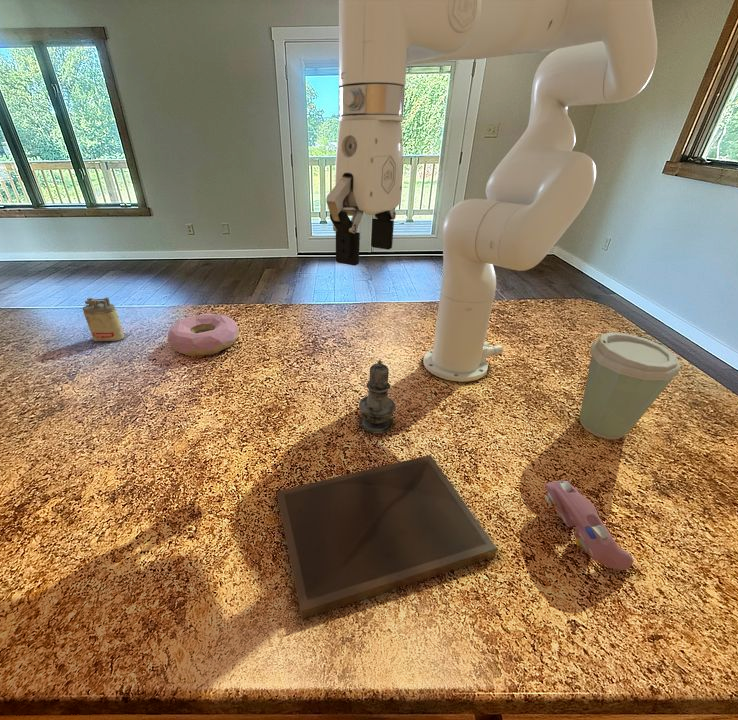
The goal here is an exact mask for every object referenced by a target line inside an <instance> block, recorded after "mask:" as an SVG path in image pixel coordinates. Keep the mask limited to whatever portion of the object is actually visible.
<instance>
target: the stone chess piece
mask: <svg viewBox="0 0 738 720" xmlns="http://www.w3.org/2000/svg"><path fill="white" fill-rule="evenodd" d="M389 370H390V369H389V367H388V366H387V365H386V364H384V363H383V362H382V360H381V359H378V361H377V363H374V364H372V365H371V366H370V367H369V375H368V376H369V378H368V379H369V381H367V383H366V388H367V389H368V391H367V393H368V394H367V395H366V396H363V397H362V398H361V399H360V400H359V402H358V408H359V410H360V413H361V415H362V416H361V418H360V420H359V421H360V424H359V425H360V426H361V428H363V430H365V431H366V432H369V433H371V434H384V433H387V432H389V431H390V430H391V429H392V427H393V419H392V416H393V414H394V412H395V411H396V408H397V406H396V403H395V401H394V400H393V399H392V398H391V397H389V396H388V395H389V390H390V388H391V384H390V383H389V372H390V371H389Z"/></svg>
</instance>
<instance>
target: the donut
mask: <svg viewBox="0 0 738 720" xmlns="http://www.w3.org/2000/svg"><path fill="white" fill-rule="evenodd" d="M238 338H239V327H238V325H237V323H236V321H235V320H234V319H233V318H231V317H229V315H223V314H215V313H208V312H207V313H203V314H202V313H201V314H196V315H192V316H188V317H184V318H182V319H181V320H179V321H178V322H176V323H175V324H173V325H172V327H171V328H170V329H169V330H168V331H167V341H166V342H168V343H169V346H170V347H171V348H172V350H174V351H175V352H177V353H179V354H182V355H186V356H190V357H196V356H197V357H199V356H213V355H215V354H217V353H219V352H221V351H224V350H226V349H227V348H230V347H231V346H232V345H233V344H234V343H235V342H236V341H237V340H238Z"/></svg>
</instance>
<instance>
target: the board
mask: <svg viewBox="0 0 738 720" xmlns="http://www.w3.org/2000/svg"><path fill="white" fill-rule="evenodd" d="M276 497H277V503H278V507H279V511H280V517H281V522H282V527H283V533H284V537H285V538H284V539H285V542H286V548H287V552H288V557H289V561H290V562H289V563H290V566H291V572H292V577H293V582H294V586H295V592H296V598H297V602H298V607H299V611H300V617H301V619H302V620H304V619H308V618H311V617H314V616H317V615H320V614H323V613H326V612H328V611H332V610H335V609H338V608H341V607H344V606H347V605H351V604H354V603H356V602H360V601H363V600H365V599H368V598H372V597H375V596H378V595H382V594H384V593H387V592H391V591H393V590H397V589H400V588H402V587H406V586H409V585H412V584H415V583H418V582H421V581H425V580H428V579H430V578H433V577H436V576H440V575H443V574H446V573H449V572H452V571H456V570H459V569H461V568H464V567H467V566H471V565H473V564H477V563H480V562H483V561H486V560H489V559H492V558H495V557H496V555H497V551H498V547H497V545H495V543H494V542H493V540H492V539H491V537H490V536H489V535H488V532H487V531H486V530H485V529H484V528H483V525H482V524H481V523H480V521H478V519H477V518H476V516H475V515H474V513H473V512H472V511H471V509H470V508H469V506H468V505H467V504H466V502H465V501H464V500H463V498H462V497H461V496H460V494H459V493H458V491H457V490H456V488H455V487H454V486H453V484H452V483H451V481H450V480H449V479H448V477H447V476H446V475H445V473H444V472H443V470H442V469H441V468H440V466H439V465H438V463H437V462H436V461H435V459H434V457H433V456H432V455H431V454H427V455H424V456H419V457H415V458H411V459H407V460H402V461H398V462H394V463H390V464H385V465H381V466H378V467H372V468H368V469H364V470H360V471H356V472H352V473H348V474H344V475H340V476H335V477H331V478H327V479H323V480H322V479H321V480H319V481H314V482H310V483H306V484H302V485H301V484H300V485H297V486H293V487H289V488H284V489H281V490H276Z"/></svg>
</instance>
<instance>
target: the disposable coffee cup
mask: <svg viewBox="0 0 738 720" xmlns="http://www.w3.org/2000/svg"><path fill="white" fill-rule="evenodd" d="M589 348H590V349H589V354H590V361H589V366H588V370H587V371H588V372H587V377H586V382H585V387H584V391H583V396H582V402H581V406H580V407H581V408H580V412H579V417H578V419H579V423H580V424H581V426H582V427H583V429H584V430H586V431H587V432H588V433H590V434H592V435H593V436H595V437H598V438H602V439H605V440H619V439H621V438H623V437H624V436H625V435H628V434H629V433H630V432H631V430H632V429H633V428H634V427H635V426H636V425H637V423H638V422H639V421H640V420H641V418H642V417H643V416H644V415H645V414H646V412H647V411H649V409H650V407H651V406H652V405H653V404H654V402H655V401H656V400H657V399H658V398H659V396H660V395H661V394H662V393H663V392H664V390H665V389H666V388H667V387H668V386H669V384H670V383H671V382H672V380H673V379H674V378H675V377H678V376H680V374H679V373H680V371H681V365H680V359H679V358H678V357H677V355H676V354H675V353H673V352H672V351H671V350H670V349H668V348H667V347H665V346H664V345H662V344H660V343H658V342H655V341H652V340H650V339H648V338H646V337H642V336H637V335H634V334H631V333H630V334H629V333H623V332H614V331H609V332H607V333H602V334H599V337H598V339H596V340H594V341H593V342H592V344H591V345H590V347H589Z"/></svg>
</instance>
